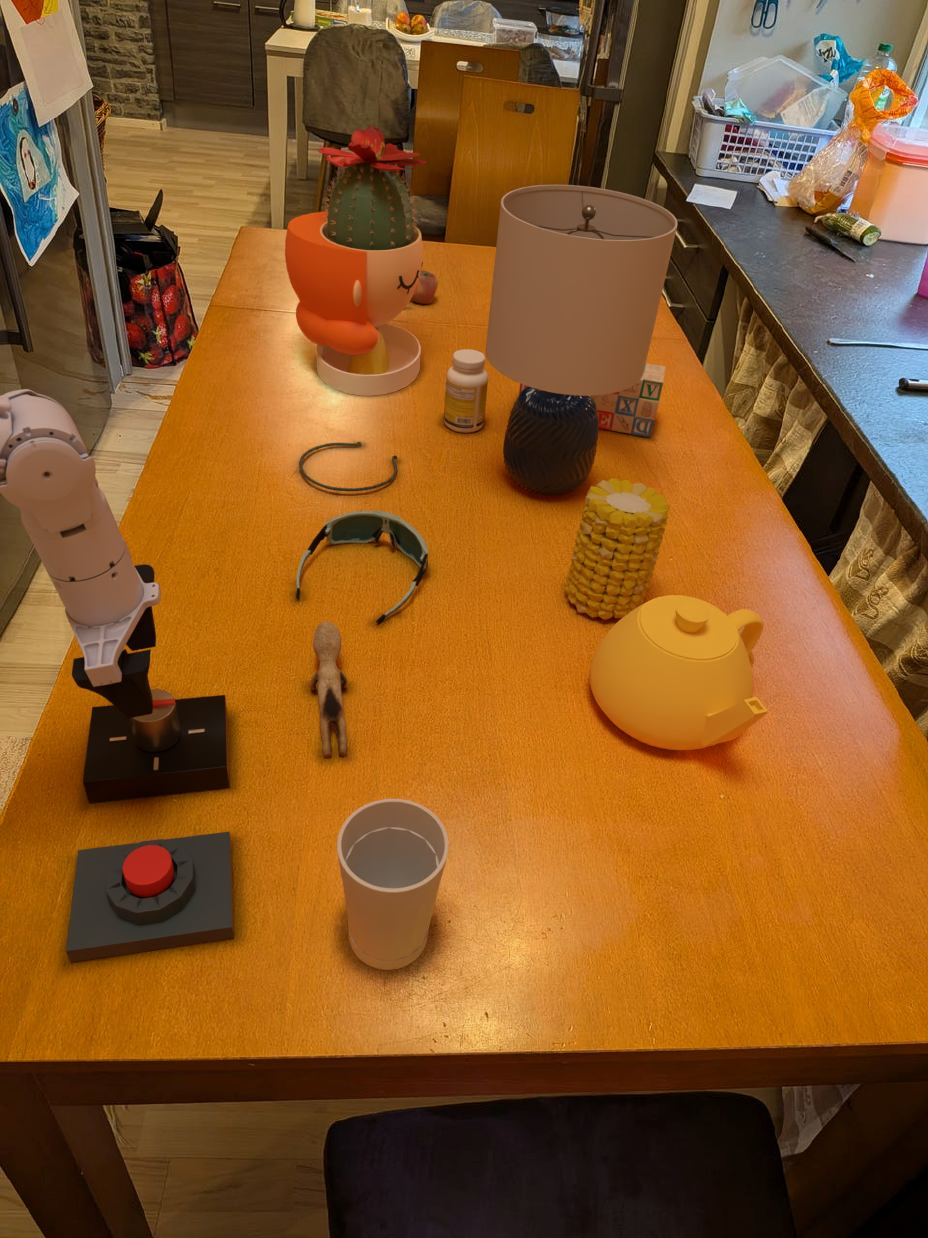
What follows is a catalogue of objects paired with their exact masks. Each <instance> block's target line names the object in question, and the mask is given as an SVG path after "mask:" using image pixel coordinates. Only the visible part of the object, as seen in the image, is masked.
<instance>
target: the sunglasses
mask: <svg viewBox="0 0 928 1238" xmlns="http://www.w3.org/2000/svg"><path fill="white" fill-rule="evenodd" d="M383 533H384V534H387V535H388V537H389V541H390V546H391V548H393V549H395V548H396V547H397V548H398V549H399V551H401V553H402V554H403V555H405V556H406V557H408V558H409V559H411V560H412V561H413V562H414V563H415V564H416V565H417V566H418V567H419V569H418V572H417V573H416V576H415V578H414V579H413V580H412V581H411V585H410V588H409V589H408V591H407V592H406V594H404V596H403V598H401V600H400V601H399V602H398V603H396V605H395V606H393V607H392V608H391V609H389V610H387V611H386V612H385V613H383V614H382V615H380V616H379V617H378V618H377V620H375V622H376V624H378V625H380V624H381V623H382V622H384V621H385V620H386V619H387V618H389V617H391V616H392V615H394V613H396V612H398V611H399V610H400V609H401V608H402V607H403V606H404V605H405V604H406V603H407V602H408V601H409V600H410V598H411V597H412V596H413V594H414V591H415V589H416V587H419V585H420V584H421V581H422V580H423V579H424V576H425V573H426V571H427V569H428V567H429V549H428V545H427V543H426V541H425V540H424V538H423V536H422V535H421V534H420V532H419V531H418V530H416V528H414V527H413V525H411V524H410V523H409V522H407V521H406V520H404V519H402V517H401V516H398V515H395V514H392V513H390V512H387V511H383V510H378V509H377V510H376V509H375V510H356V511H350V512H346V513H343V514H340V515H337V516H335V517H332V518H330V519H329V520H327V521H325V522H324V526H323V527H322V528H321V529H320V530H319V532H318V533H317V535H315V537H314V538H313V540H312V541H311V543H310V545H309V546H308V548H307V550H306V551H305V552H304V553H303V554H302V556H301V559H300V562H299V565H298V568H297V572H296V595H295V598H296V599H297V600H298V599H300V595H301V575H302V572H303V569H304V566H305V564H306V562H307V560H309V558H310V557H311V555H313V554H314V552H315V551H316V549H317V548H318V546H319V545H320V543H321V542H322V541H323V540H325V538H326V542H328V543H330V544H333V545H338V544H349V543H351V544H355V543H356V544H367V543H370V542H371V543H372V542H374V543H378V542H379V541H380V539H381V537H382V535H383Z"/></svg>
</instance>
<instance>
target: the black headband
mask: <svg viewBox="0 0 928 1238" xmlns="http://www.w3.org/2000/svg"><path fill="white" fill-rule="evenodd" d="M335 446H341V447H342V446H343V447H344V446H345V447H360V446H362V442H361V441H357V442H355V443H354V442H353V443H352V442H329V443H324V444H320V445H316V446H314V447H312V448H310V449H307V450H306V451H304V453H303V454H302V455H301V456H300V458H299V460H298V468H299V470H300V473H301V474H302V476H303V477H304V478H305V479H306V480H308V481H309V482H310V483H312V484H314V485H316V486H317V487H320V488H324V489H326V490H331V491H337V492H362V491H369V490H373V489H374V490H375V489H377V488H380V487H383V486H387V485H388V484H390V483H392V481H394V479H395V477H396V476H397V473H398V465H397V461H396V460H398V456H397V455H395V454H394V455H392V457H391V461H392V464H393V467H394V470H393V473H392V475H391V476H390V477H389V478H388V479H387V480H385V481H383V482H380V483H377V484H374V485H370V486H364V487H337V486H330V485H326V484H324V483H321V482H318V481H316V480H314V479H313V478H311V477H310V476H309V475H308V474H307V473H306V472H305V470H304V466H303V461H304V460H305V458H306V457H307V456H308V455H310V453H312V452H314V451H318V450H319V449H323V448H326V447H335Z"/></svg>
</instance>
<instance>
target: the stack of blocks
mask: <svg viewBox="0 0 928 1238" xmlns="http://www.w3.org/2000/svg"><path fill="white" fill-rule="evenodd" d="M665 373H666V366H665V365H660V364H653V363H646V364H645V369H644V373H643V376H642V378H641V379H640V380H639V381H638V382H637V383H636V384H635V385H633V386H632V387H630V388H628V389H625V390H622V391H619V392H615V393H610V394H604V395H590V397H592V398H593V400H594V402H595V404H596V408H597V412H598V423H599V427H598V429H602V430H608V431H612V432H618V433H624V434H628V435H629V434H630V435H634V436H639V437H645V438H651V436H652V433H653V427H654V424H655V421H656V417H657V414H658V413H657V412H658V407H659V404H660V399H661V394H662V392H663V391H662V390H663V386H664V382H665ZM526 387H528V386H526V385H523V384H521V383H519V391H518V395H519V394H520V393H521V391H522V390H523V389H525V388H526Z"/></svg>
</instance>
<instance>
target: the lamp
mask: <svg viewBox="0 0 928 1238" xmlns="http://www.w3.org/2000/svg"><path fill="white" fill-rule="evenodd" d="M498 218H499V219H498V226H497V235H496V236H497V237H496V246H495V255H494V265H493V275H492V283H491V292H490V293H491V294H490V304H489V311H488V312H489V313H488V320H487V321H488V322H487V331H486V342H485V358H486V359H487V361H488V363H489V364H490V365H491V367H492V368H494V369H495V370H496V371H497V372H499V373H500V374H501V375H503V376H504V377H506V378H509V379H510V380H511V381H514V382H516V383H518V384H520V383H521V384H523V385H526V386H528V387H526V388H525V389H523V390H522V391H521V393H520V394H519V393H518V396H517V398H516V400H515V401H514V403H513V406H512V408H511V410H510V413H509V416H508V420H507V425H506V429H505V432H504V439H503V447H502V455H503V457H502V458H503V464H504V468H505V470H506V472H507V475H509V476H510V478H511V480H513V482H514V483H516V484H517V485H518V486H519V487H521V488H522V489H526V491H530V493H535V494H536V495H541V496H547V497H551V496H561V495H565V494H568V493H571V492H573V491H574V490H576V489H578V488H579V487H581V486H582V485H583V484H584V483H585V482H586V480H587V479H588V477H589V476H590V474H591V472H592V469H593V465H594V464H595V458H596V455H597V448H598V441H599V431H600V430H599V428H598V427H599V423H598V412H597V408H596V404H595V402H594V400H593V398H592V397H590V395H604V394H610V393H615V392H619V391H622V390H625V389H628V388H630V387H632V386H633V385H635V384H636V383H637V382H638V381H639V380H640V379H641V378H642V376H643V373H644V369H645V364H647V359H648V356H649V351H650V347H651V343H652V337H653V333H654V328H655V325H656V320H657V316H658V312H659V307H660V303H661V298H662V294H663V290H664V285H665V281H666V276H667V272H668V268H669V263H670V259H671V254H672V250H673V246H674V242H675V237H676V233H677V228H678V220H677V218H676V217H675V215H674V214H673V213H672V212H670V210H668V209H666V208H665V207H663V206H661V205H659V204H657V203H655V202H653V201H651V200H648V199H645V198H642V197H640V196H636V195H632V194H629V193H624V192H621V191H616V190H611V189H606V188H600V187H593V186H585V185H574V184H539V185H530V186H525V187H520V188H516V189H513V190H511V191H509V192H507V193H506V194H504V195H503V196H502V198H501V199H500V207H499V217H498Z"/></svg>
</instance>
